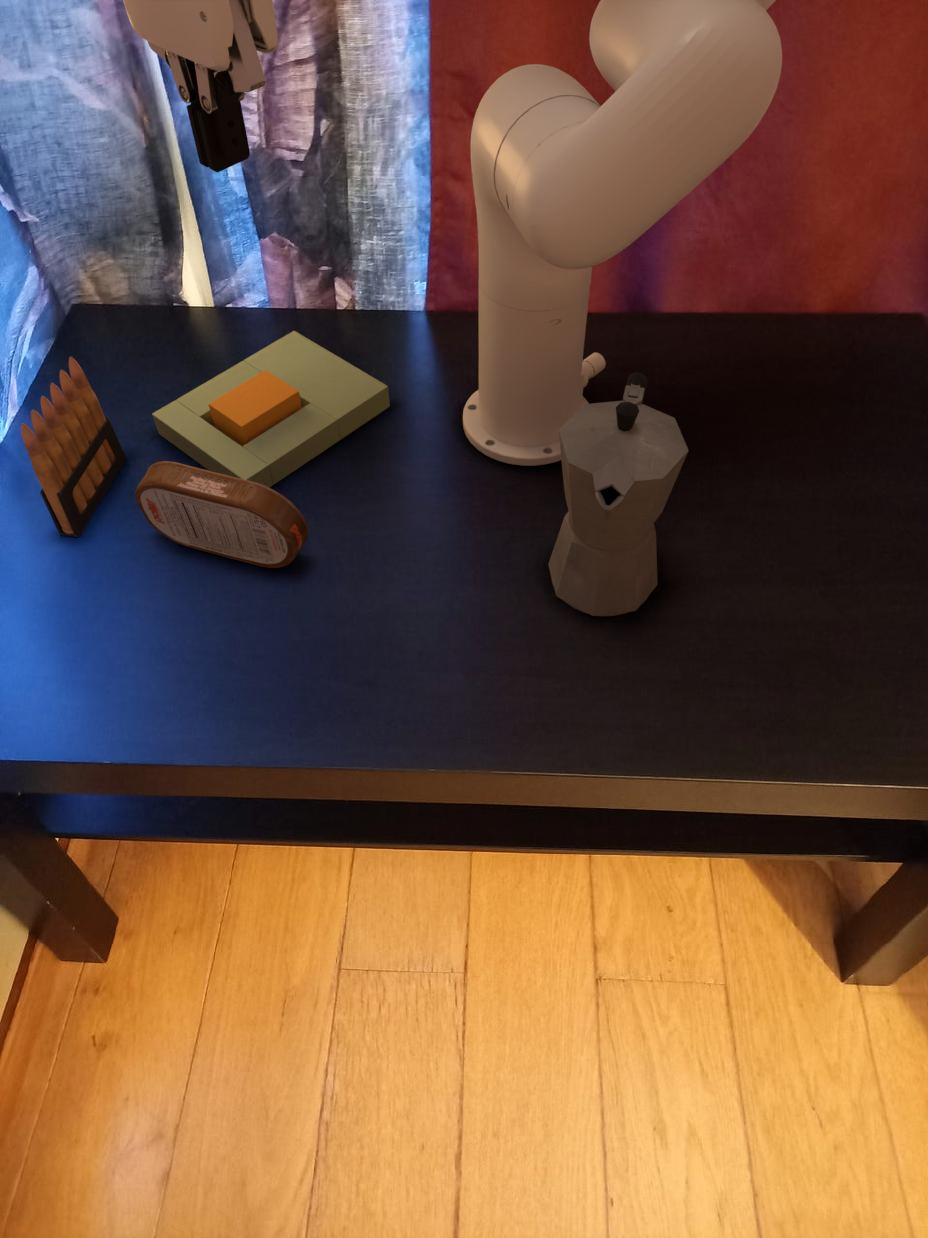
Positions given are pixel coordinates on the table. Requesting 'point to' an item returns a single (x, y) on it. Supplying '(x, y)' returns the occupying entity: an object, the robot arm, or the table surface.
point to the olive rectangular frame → (328, 414)
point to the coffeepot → (614, 501)
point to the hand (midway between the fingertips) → (225, 161)
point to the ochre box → (254, 407)
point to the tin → (221, 514)
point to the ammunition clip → (72, 451)
